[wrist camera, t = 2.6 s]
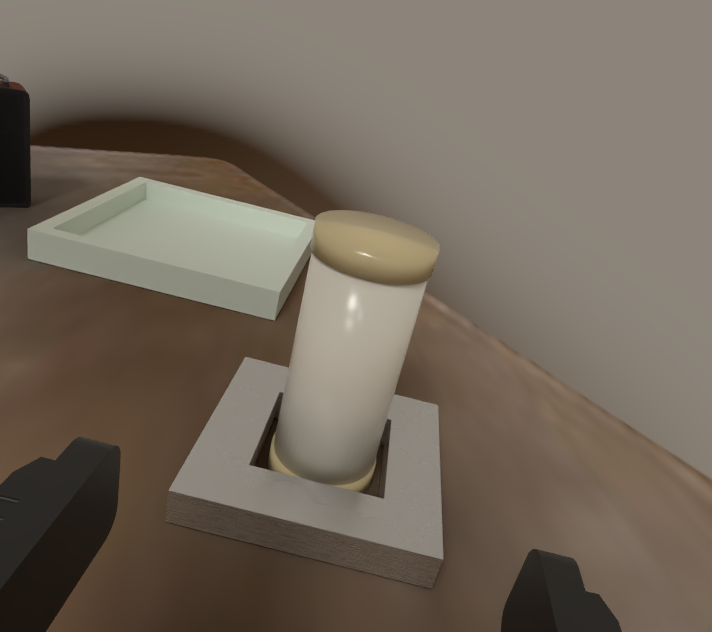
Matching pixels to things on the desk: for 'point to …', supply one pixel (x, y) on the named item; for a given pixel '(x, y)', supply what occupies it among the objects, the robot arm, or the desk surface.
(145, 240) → the parts tray
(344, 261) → the cartridge fuse
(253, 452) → the fuse holder
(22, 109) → the radio
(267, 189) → the desk surface
